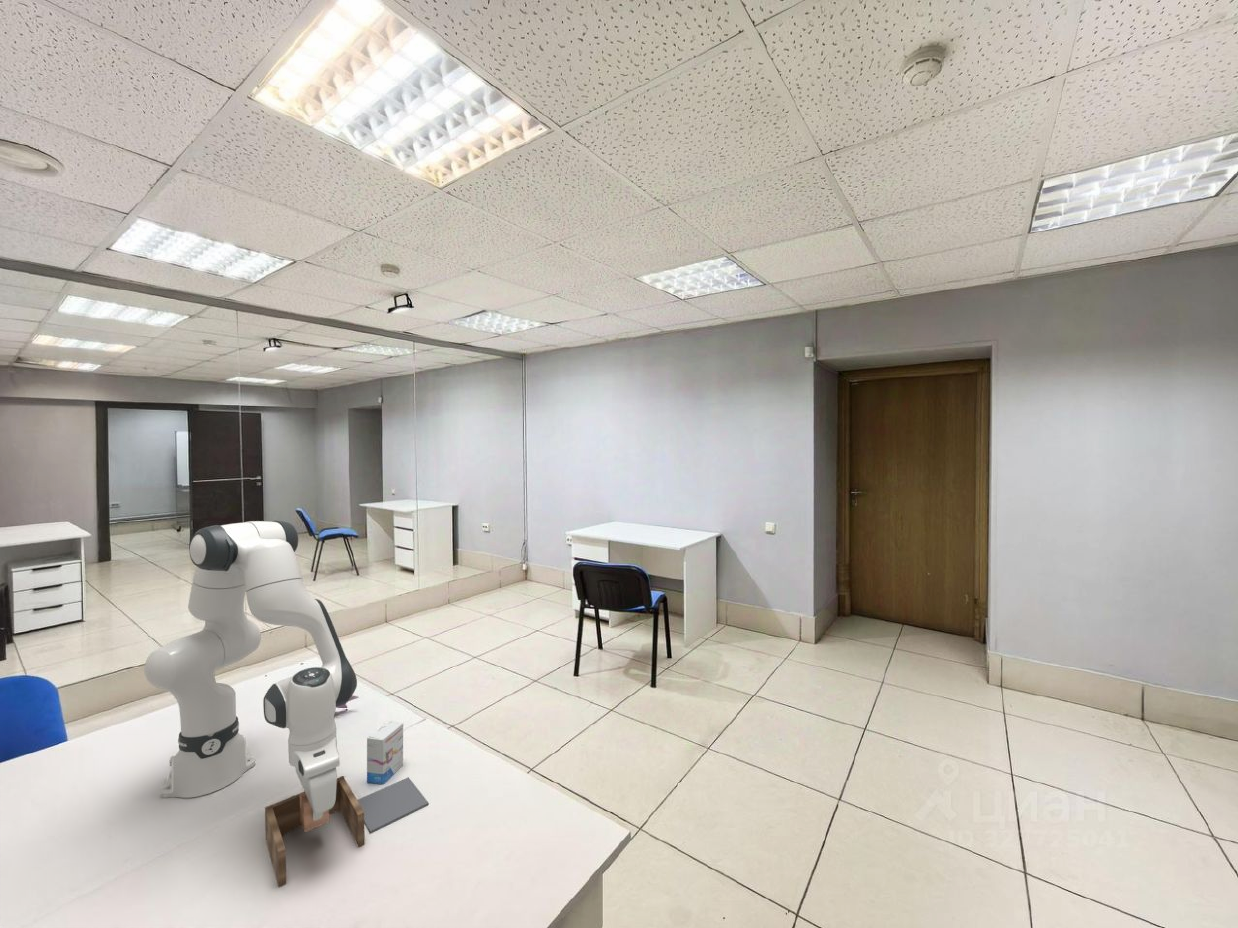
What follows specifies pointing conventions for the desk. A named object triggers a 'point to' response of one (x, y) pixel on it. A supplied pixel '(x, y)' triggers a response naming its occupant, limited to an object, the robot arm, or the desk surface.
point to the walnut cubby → (287, 819)
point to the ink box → (384, 752)
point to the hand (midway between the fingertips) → (314, 810)
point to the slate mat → (391, 804)
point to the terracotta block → (310, 814)
